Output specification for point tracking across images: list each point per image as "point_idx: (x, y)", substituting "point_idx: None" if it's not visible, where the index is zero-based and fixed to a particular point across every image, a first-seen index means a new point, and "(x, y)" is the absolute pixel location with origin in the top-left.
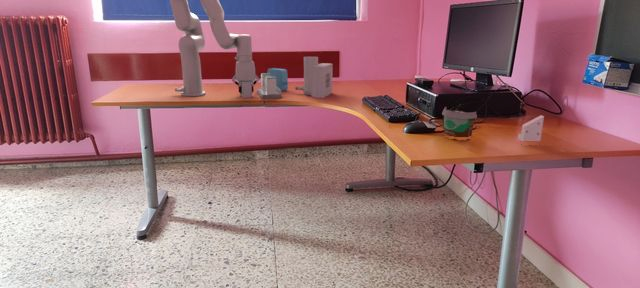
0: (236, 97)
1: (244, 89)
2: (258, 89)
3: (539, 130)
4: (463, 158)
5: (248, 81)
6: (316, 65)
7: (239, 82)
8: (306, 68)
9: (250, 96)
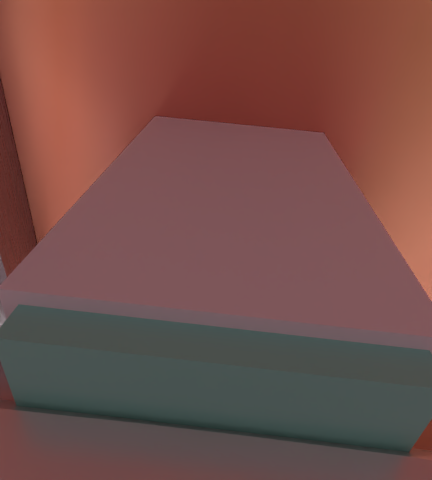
0: (411, 178)
1: (298, 185)
2: None
3: None
4: None
5: (126, 332)
6: None
7: (428, 442)
8: None
9: (179, 120)
